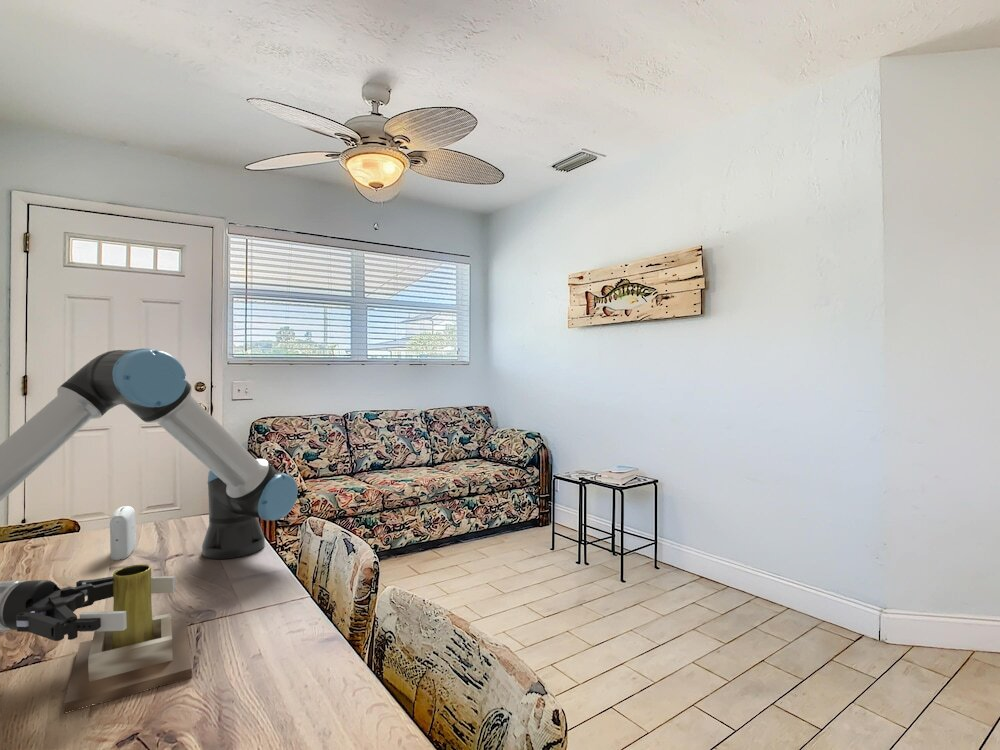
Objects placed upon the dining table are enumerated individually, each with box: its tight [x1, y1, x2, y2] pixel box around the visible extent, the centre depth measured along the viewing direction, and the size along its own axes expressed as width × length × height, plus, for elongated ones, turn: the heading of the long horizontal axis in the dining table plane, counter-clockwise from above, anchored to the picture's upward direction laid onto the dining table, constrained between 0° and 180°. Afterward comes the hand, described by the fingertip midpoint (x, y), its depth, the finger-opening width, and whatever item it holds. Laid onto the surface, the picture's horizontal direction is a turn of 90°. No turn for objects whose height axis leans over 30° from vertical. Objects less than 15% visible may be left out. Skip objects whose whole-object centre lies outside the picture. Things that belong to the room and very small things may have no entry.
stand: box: [63, 612, 193, 714], centre depth 90 cm, size 16×20×5 cm
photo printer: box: [109, 505, 137, 561], centre depth 142 cm, size 10×4×12 cm, turn 22°
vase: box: [112, 564, 154, 650], centre depth 90 cm, size 6×6×14 cm
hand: (151, 601), depth 90 cm, fingers open, 13 cm apart
